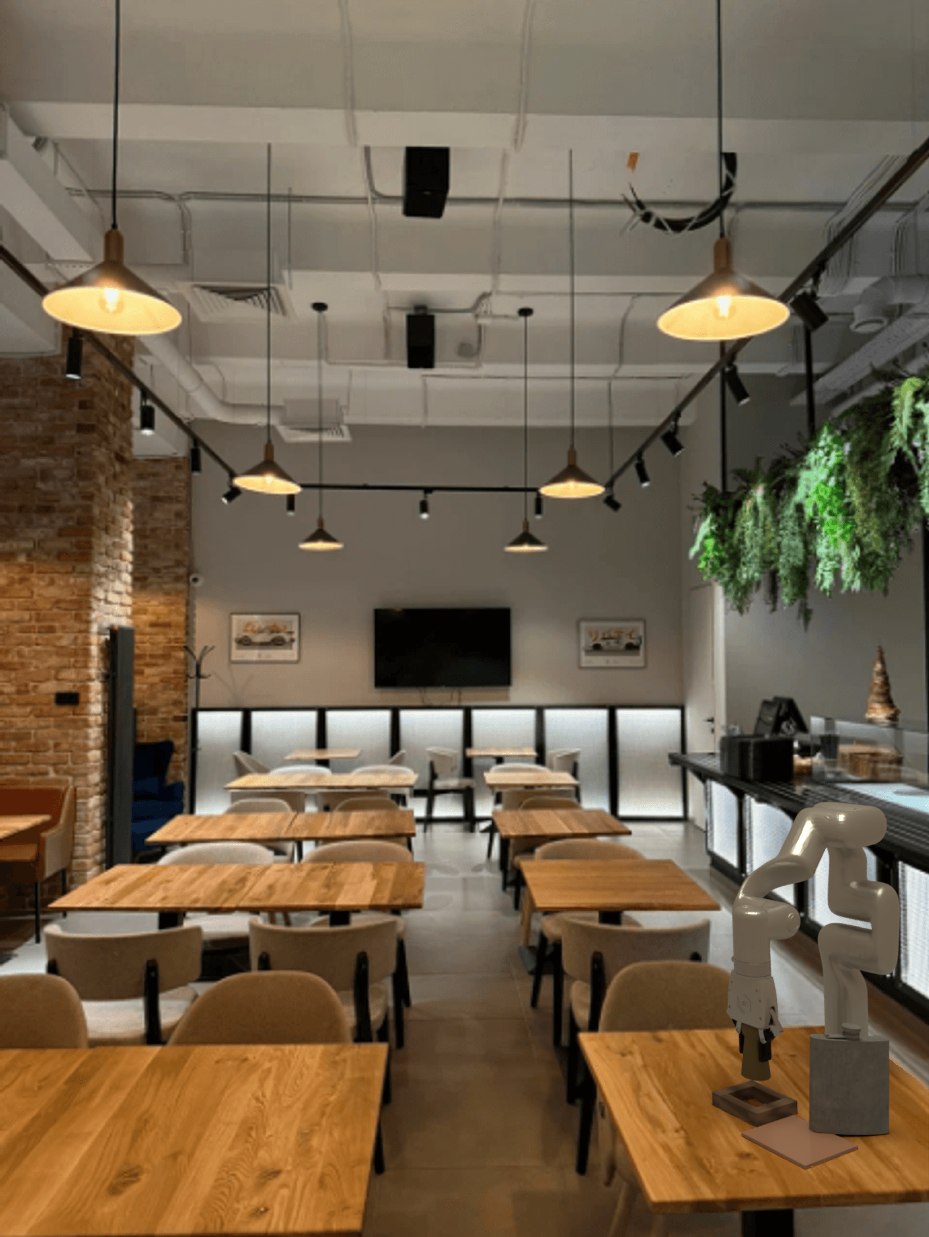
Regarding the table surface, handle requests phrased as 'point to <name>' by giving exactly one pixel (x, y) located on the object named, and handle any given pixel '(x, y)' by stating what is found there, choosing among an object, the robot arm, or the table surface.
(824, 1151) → the terracotta tile
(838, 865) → the robot arm
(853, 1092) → the hip flask
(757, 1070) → the olive pawn shape
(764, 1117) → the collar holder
